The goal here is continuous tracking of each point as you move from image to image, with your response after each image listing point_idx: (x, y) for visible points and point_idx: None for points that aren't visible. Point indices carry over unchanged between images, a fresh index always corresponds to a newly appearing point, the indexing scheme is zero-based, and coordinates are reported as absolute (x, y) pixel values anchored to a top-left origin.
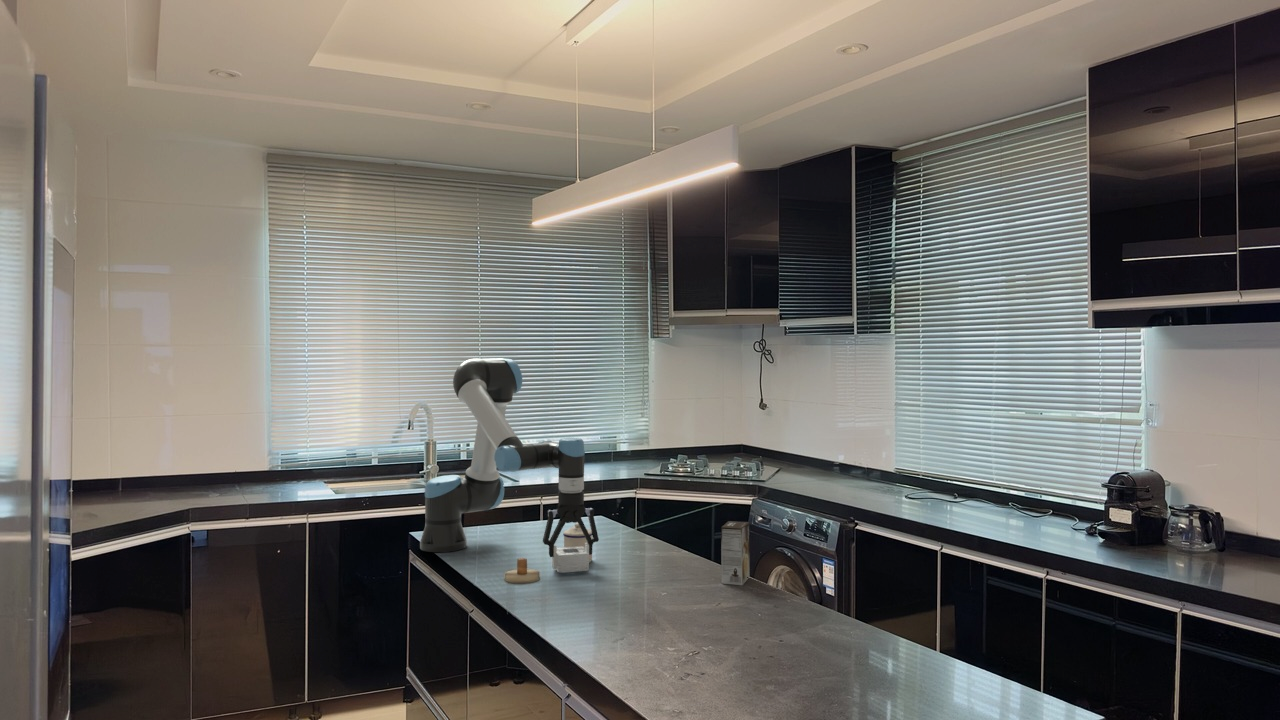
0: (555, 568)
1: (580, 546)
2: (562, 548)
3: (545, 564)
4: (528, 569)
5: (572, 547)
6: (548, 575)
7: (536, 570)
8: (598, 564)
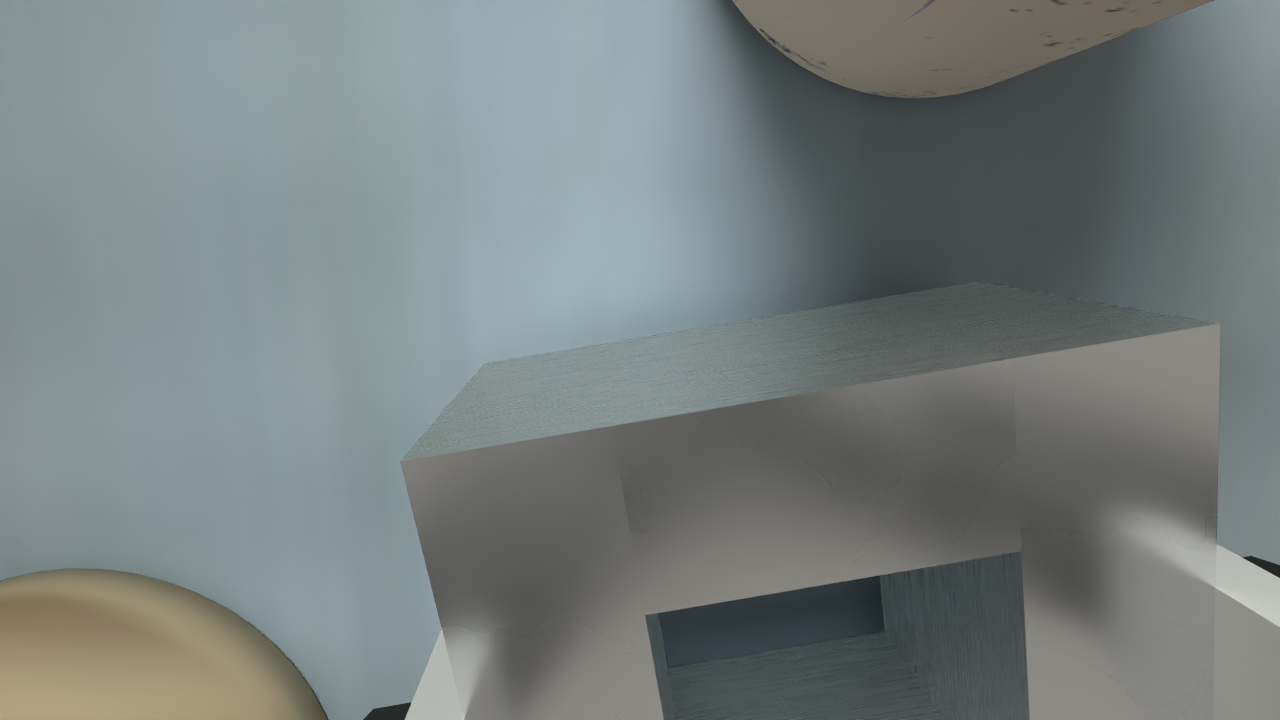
0: None
1: (1160, 348)
2: (659, 528)
3: (361, 23)
4: (115, 647)
5: (932, 442)
6: None
7: (249, 713)
8: (1209, 140)
